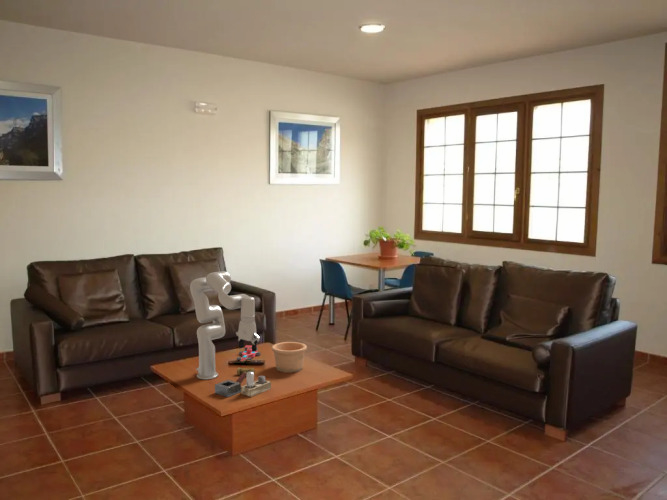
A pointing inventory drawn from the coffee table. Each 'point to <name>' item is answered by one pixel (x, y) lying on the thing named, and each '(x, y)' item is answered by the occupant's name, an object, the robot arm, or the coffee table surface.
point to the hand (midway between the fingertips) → (247, 349)
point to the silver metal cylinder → (250, 379)
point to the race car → (248, 353)
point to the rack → (256, 387)
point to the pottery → (289, 356)
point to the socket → (227, 388)
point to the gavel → (243, 373)
